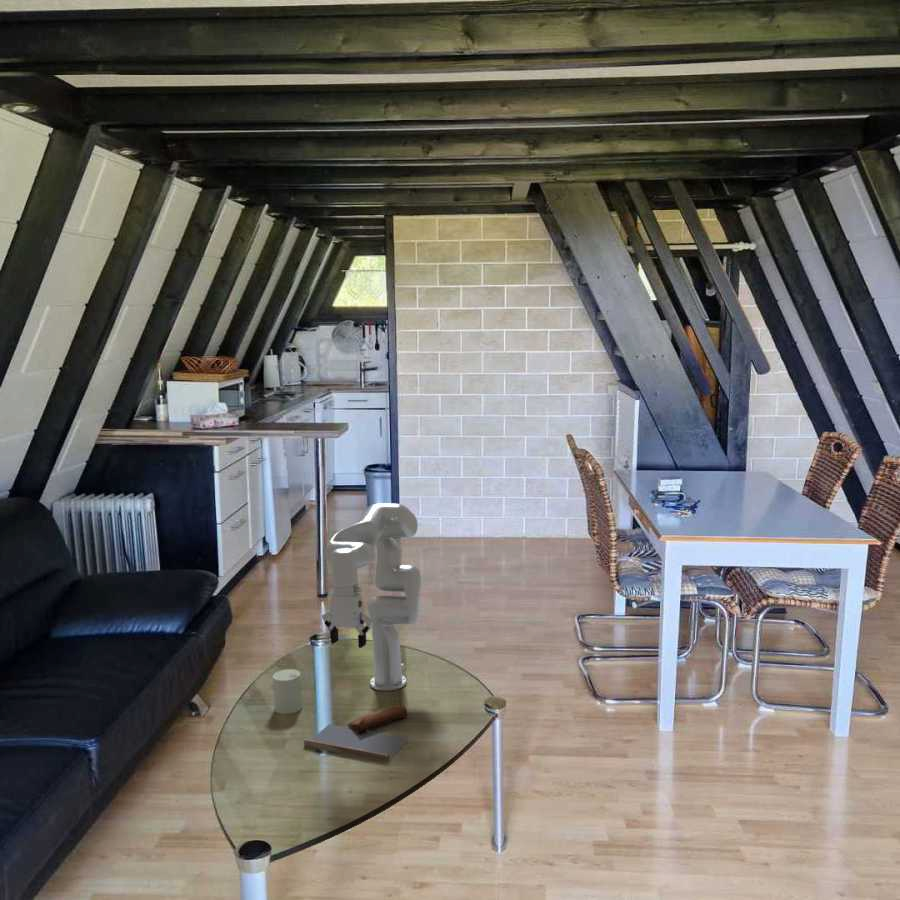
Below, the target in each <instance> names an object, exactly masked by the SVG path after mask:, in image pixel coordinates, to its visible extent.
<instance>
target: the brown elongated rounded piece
mask: <svg viewBox="0 0 900 900" xmlns="http://www.w3.org/2000/svg"><path fill="white" fill-rule="evenodd" d="M408 713H409V712H408V709H407V708H406V706H405V705H390V706H386V707H382V708H378V709H375V710H374V709H373V711H369V712H367V714H365V715H363V716H360V717H358V718H356V719H354V720H352V721H351V722H349V723H348V724H347V727H348V728H350V729H351V730H352V731H354V732H355V733H356V734H357V735H359V734H360V733H363V732H365V731H370V730H372V729H373V728H376V727H377V726H380V725H384V724H386V723H389V722H391V721H394V720H397V719H400V718H402V717H408V715H409V714H408Z"/></svg>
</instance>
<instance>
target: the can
mask: <svg viewBox="0 0 900 900" xmlns="http://www.w3.org/2000/svg"><path fill="white" fill-rule="evenodd" d="M301 674H302V673H301V671H300V670H298V669H293V668H288V669H287V668H286V669H282V670H278V671H276V672H274V673H273V675H272V683H273V696H274V698H273V699H274V712H275V713H277V714H280V715H291V714H296V713H298V712H299V711H301V710H302V709H303V707H304V704H303V696H302V693H303V692H302V680H301V679H302V677H301Z"/></svg>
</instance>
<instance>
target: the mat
mask: <svg viewBox="0 0 900 900" xmlns="http://www.w3.org/2000/svg"><path fill="white" fill-rule="evenodd" d="M312 739H313V740H318V741H324V742H329V743H334V744H340V745H345V746H350V747H356V748H361V749H366V750H372V751H377V752H382V753H388V754H389V756H390V760H392V758H393V757H394V756H395V755H397V753H398V752H399V751H400V750H401V748H403V746H404V745H405V744H407V742H408V741H409V740H410V738H408V737H405V736H404V737H403V736H398V735H393V734H385V733H380V732H376V731H370V730H368V731H365V732H363V733H360V734H359V735H357V734H356V733H355V732H354V731H352V730H351V729H350V728H349V727H348V726H341V725H337V724H336V725H334V724H331V723H330V724H328V725H326V726H325V727H324V728H323V729H322V730H320V732H318V733H317V734H316V735H315V736H313V737H312Z"/></svg>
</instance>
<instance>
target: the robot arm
mask: <svg viewBox="0 0 900 900" xmlns="http://www.w3.org/2000/svg"><path fill="white" fill-rule="evenodd" d="M418 525H419V524H418V519H417V517H416V515H415V514H414V513H413V512H412V511H411V510H410V509H409V508H408V507H407V506H406V505H404V504H401V503H382V502H381V503H372V504H371V505H369V506H368V507H367V508H366V510H365V511H364V512H363V514H362V516H361V517H360V519H359V520H358V522H356V523H354V524H351V525H350V526H348V527H346V528H343V529H340V530H339V531H338V532H336V533H335V534H334V535H333V536H332V537H331V539H330V540H329V541H328V543H327V544H326V547H325V551H324V558H325V561H326V563H327V564H328V566H329V565H330V566H331V579H332V580H331V581H332V593H331V597H330V602H329V603H330V604H329V611H327V612H325V613H323V614H322V615H321V618H322V620H323V622H324V625H325V626H326V628H327V630H328V631H329V636H330V644H332V645H334V644H335V643H337V642H338V641H339V639H340V638H339V628H338V627H340V628H347V629H355V630H356V631H357V633H358V636H357V639H358V640H357V641H358V642H357V643H358V645H357V646H358V648H359V649H362V648H363V647H366V645H367V633H368V632H369V631H370V629H371V640H372V643H371V644H372V659H373V660H372V662H373V675H374V676H373V677H372V678H371V679H370V680H369V685H371V686H370V688H372V689H374V690H377V691H383V692H389V691H390V692H391V691H395V690H400V688H403V687H404V686H405V685H406V683H407V678H406V676H405V675H403V674H402V671H403V670H404V669H405V668H406V665H405V663H402V657H401V655H402V654H401V653H402V652H401V637H400V636H401V635H400V632H399V629H398V628H397V626H396V625H402V626H403V625H404V626H405V625H406V626H411V625H414V624H416V623H417V621H418V618H419V612H420V599H421V598H420V597H421V586H422V585H421V584H422V583H421V582H422V577H421V572H420V569H419V568H418V567H417V566H416V565H414V564H412V565H411V564H402V549H401V547H400V545H399V543H398V542H397V540H395V538H397V539H400V538H401V539H403V538H404V539H408V538H413V537H415V536H416V533H417V531H418V527H419V526H418ZM374 543H375V548H376V563H375V576H374V577H375V578H374V584H375V588H376V589H377V590H378V591H381V592H386V593H387V592H389V593H403V594H404V595H405V596H402V595H401V596H400V595H383V594H382V595H377V596H374V597H372V598H371V599H370V600H369V601H368V604H367V613H368V614H367V615H368V616H367V615H366V613H365V605H364V601H363V597H362V594H361V592H362V587H360V586H359V584H358V583H359V582H358V578H359V577H358V569H362V568H364V567H366V566H368V564H370V562H371V560H372V559H373V549H372V547H371V545H372V544H374ZM365 623H366V624H365Z"/></svg>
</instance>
